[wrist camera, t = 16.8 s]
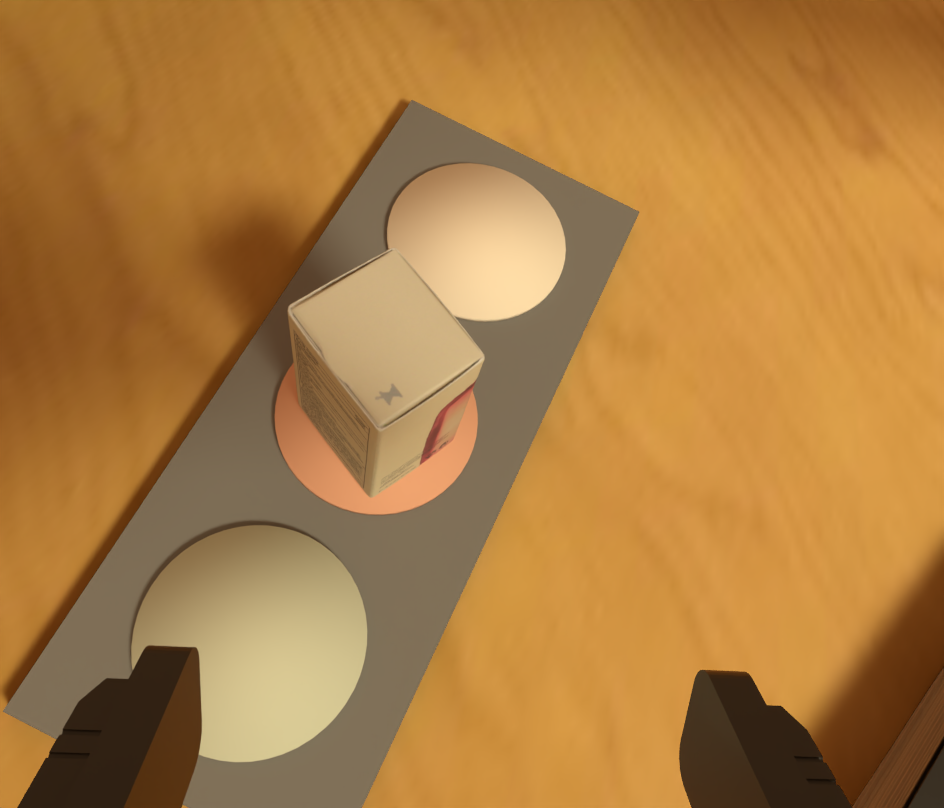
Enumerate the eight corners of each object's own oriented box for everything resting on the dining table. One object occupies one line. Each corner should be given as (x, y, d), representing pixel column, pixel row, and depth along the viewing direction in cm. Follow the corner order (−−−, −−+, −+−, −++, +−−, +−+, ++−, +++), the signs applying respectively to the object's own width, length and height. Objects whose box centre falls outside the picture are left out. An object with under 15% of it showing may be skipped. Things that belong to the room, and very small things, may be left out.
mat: (410, 111, 40) (412, 95, 38) (633, 221, 39) (641, 208, 38) (11, 712, 28) (-1, 711, 27) (328, 875, 27) (328, 881, 26)
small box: (457, 440, 33) (493, 358, 25) (368, 502, 31) (380, 434, 24) (381, 345, 34) (396, 239, 26) (292, 401, 32) (281, 305, 25)
